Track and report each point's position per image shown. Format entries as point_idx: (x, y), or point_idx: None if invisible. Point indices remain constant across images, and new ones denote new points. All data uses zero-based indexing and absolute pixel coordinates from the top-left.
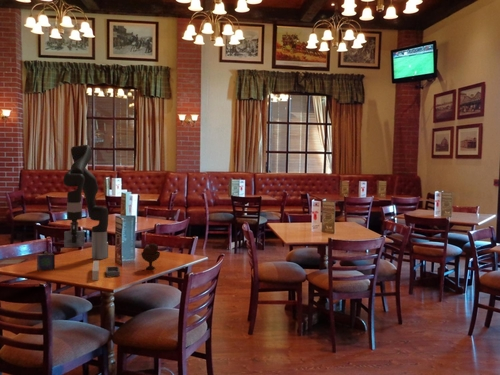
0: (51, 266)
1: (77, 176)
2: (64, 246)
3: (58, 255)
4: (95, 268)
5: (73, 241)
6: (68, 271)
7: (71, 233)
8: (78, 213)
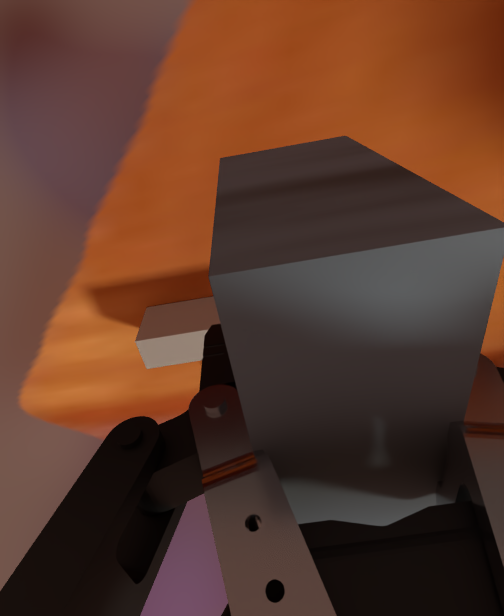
0: None
1: None
2: (220, 164)
3: None
4: (202, 344)
5: (210, 340)
6: (404, 97)
7: (84, 471)
8: None
